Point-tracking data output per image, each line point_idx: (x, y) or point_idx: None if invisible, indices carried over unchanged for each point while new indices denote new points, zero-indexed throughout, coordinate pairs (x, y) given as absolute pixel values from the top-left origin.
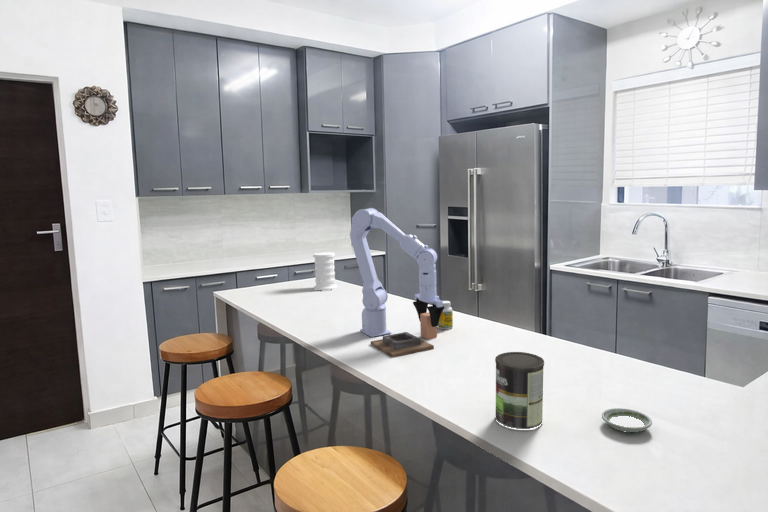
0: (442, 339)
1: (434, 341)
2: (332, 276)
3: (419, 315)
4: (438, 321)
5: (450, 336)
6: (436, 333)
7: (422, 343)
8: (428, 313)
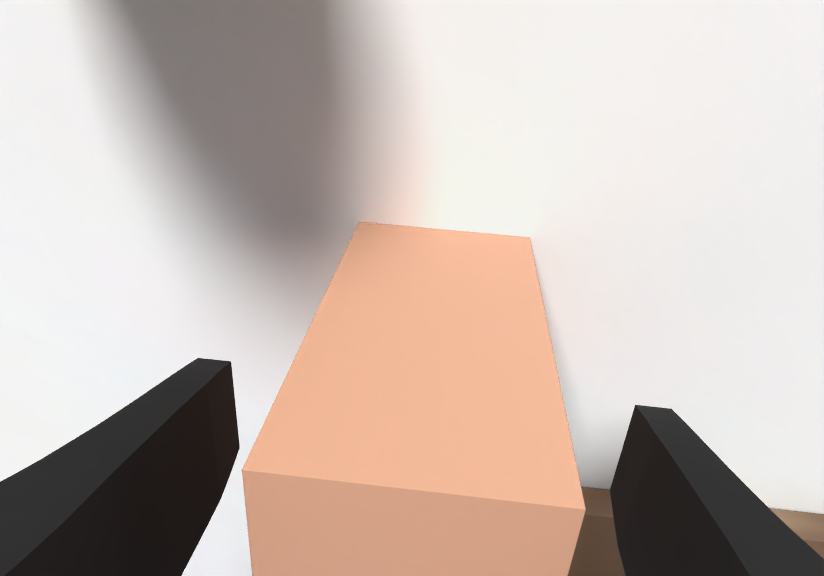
0: (662, 237)
1: (642, 364)
2: None
3: (184, 567)
4: (722, 475)
5: (649, 34)
6: (534, 269)
7: None
8: (344, 564)
